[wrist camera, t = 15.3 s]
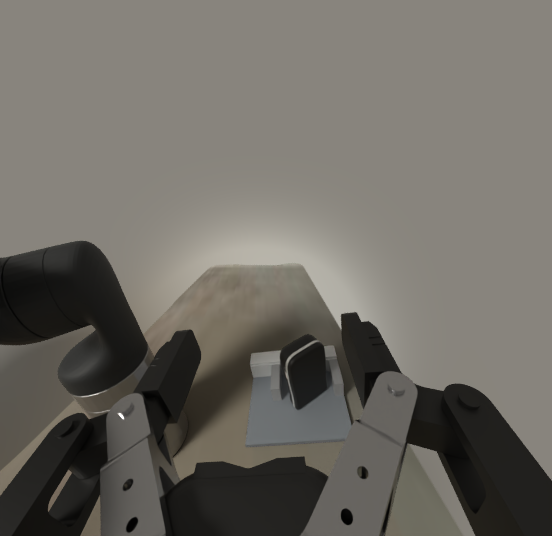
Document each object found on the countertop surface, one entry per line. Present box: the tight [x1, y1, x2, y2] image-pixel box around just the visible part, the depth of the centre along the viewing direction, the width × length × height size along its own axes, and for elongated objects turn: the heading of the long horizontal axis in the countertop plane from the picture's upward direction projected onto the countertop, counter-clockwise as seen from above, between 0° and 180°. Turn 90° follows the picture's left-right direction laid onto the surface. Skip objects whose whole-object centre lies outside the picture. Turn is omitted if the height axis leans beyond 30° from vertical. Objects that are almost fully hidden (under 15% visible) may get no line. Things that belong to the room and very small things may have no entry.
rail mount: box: [246, 345, 352, 447], centre depth 40 cm, size 16×14×4 cm
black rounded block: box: [280, 334, 327, 410], centre depth 38 cm, size 7×4×11 cm, turn 122°
